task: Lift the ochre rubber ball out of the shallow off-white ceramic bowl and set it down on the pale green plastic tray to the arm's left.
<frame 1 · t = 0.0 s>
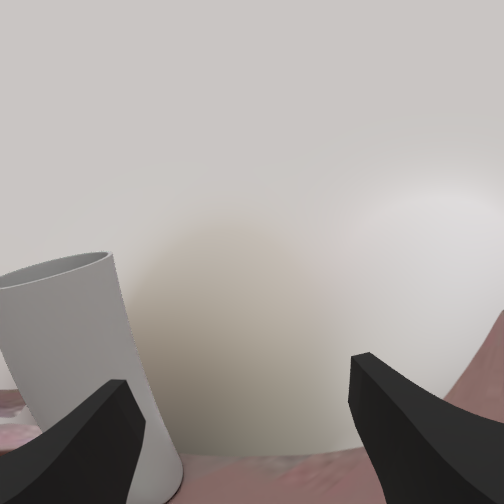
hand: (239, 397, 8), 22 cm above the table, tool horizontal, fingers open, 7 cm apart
cylinder vase: (134, 477, 24), on the table
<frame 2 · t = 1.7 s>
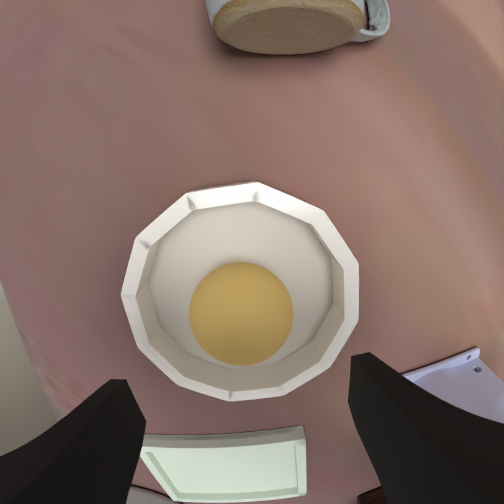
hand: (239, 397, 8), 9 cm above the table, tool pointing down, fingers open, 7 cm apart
bowl: (241, 289, 17), on the table
tray: (228, 467, 22), on the table
brown manual coffee grinder: (392, 497, 27), on the table
ceramic mug: (296, 5, 13), on the table
ball: (241, 314, 14), point 3 cm above the table, touching bowl
cylinder vase: (145, 503, 25), on the table
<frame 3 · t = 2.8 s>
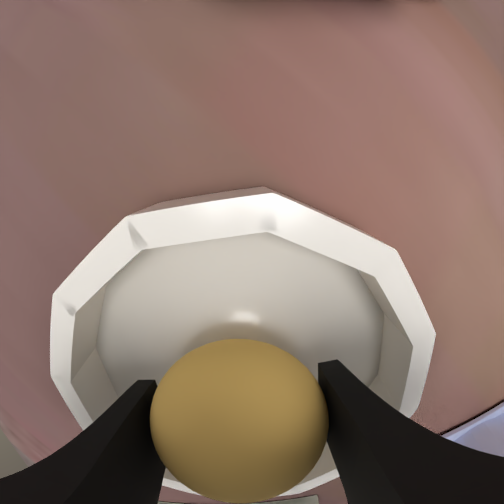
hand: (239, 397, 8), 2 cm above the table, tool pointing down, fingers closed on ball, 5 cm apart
bowl: (239, 361, 10), on the table
ball: (239, 422, 7), point 3 cm above the table, touching bowl, gripper
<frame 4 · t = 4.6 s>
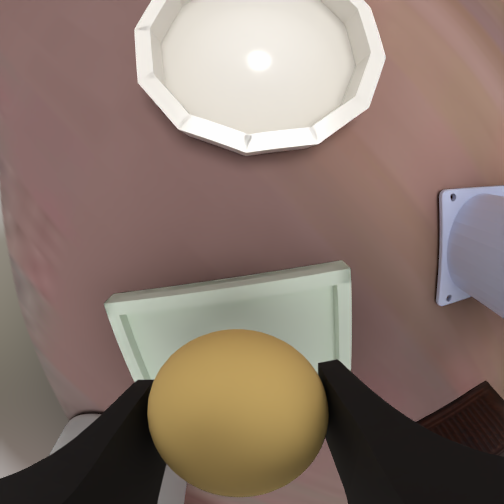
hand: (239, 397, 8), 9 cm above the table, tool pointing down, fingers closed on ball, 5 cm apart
bowl: (258, 51, 13), on the table
tray: (238, 357, 18), on the table
brown manual coffee grinder: (440, 440, 23), on the table
ball: (237, 414, 7), point 10 cm above the table, touching gripper
cylinder vase: (126, 451, 22), on the table
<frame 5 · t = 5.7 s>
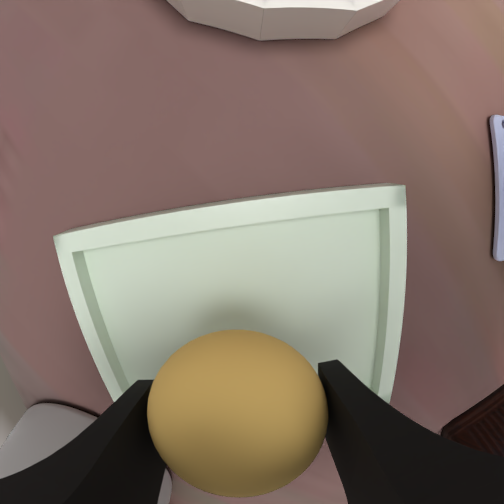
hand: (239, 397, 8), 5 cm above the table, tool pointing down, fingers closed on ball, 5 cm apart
tray: (241, 326, 13), on the table
brown manual coffee grinder: (472, 440, 18), on the table
ball: (237, 415, 7), point 6 cm above the table, touching gripper
cylinder vase: (96, 453, 16), on the table
when the fingers open (3 cm above the table, at t = 6.5 s): ball drops 1 cm, resting on tray.
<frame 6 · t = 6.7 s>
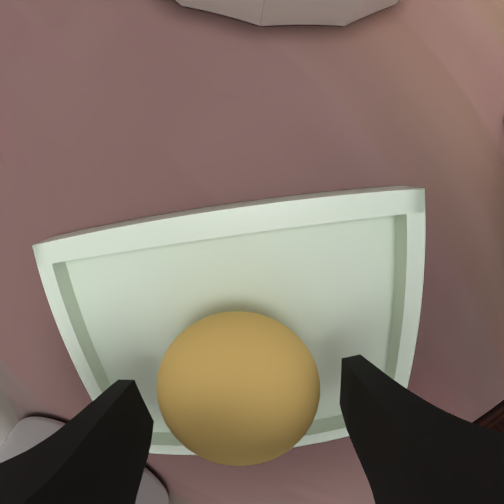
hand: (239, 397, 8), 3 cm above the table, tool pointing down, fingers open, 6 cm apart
tray: (239, 344, 12), on the table
brown manual coffee grinder: (477, 449, 17), on the table
ball: (238, 389, 8), point 3 cm above the table, touching tray
cylinder vase: (90, 467, 15), on the table
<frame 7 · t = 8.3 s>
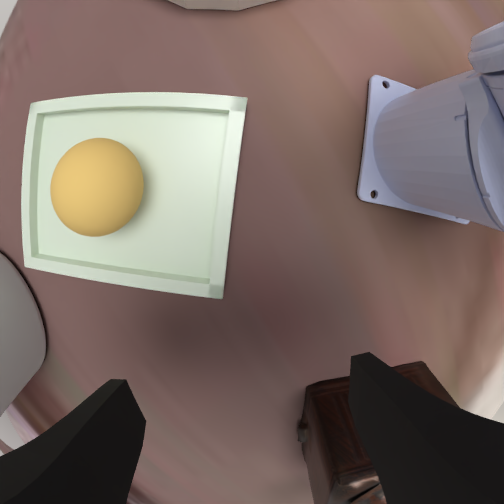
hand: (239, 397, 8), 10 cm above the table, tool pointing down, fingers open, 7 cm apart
tray: (118, 187, 16), on the table
brown manual coffee grinder: (353, 431, 23), on the table
ball: (96, 187, 13), point 3 cm above the table, touching tray
cylinder vase: (0, 309, 18), on the table
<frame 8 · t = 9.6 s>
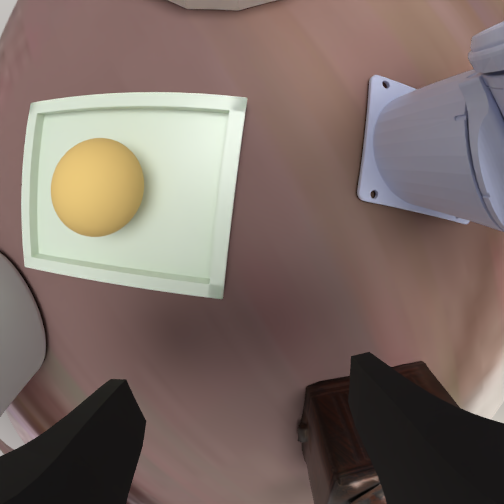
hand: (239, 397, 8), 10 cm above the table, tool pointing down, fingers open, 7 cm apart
tray: (118, 187, 16), on the table
brown manual coffee grinder: (353, 431, 23), on the table
ball: (96, 187, 13), point 3 cm above the table, touching tray
cylinder vase: (0, 309, 18), on the table
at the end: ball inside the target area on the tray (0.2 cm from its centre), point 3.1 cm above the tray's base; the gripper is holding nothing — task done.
